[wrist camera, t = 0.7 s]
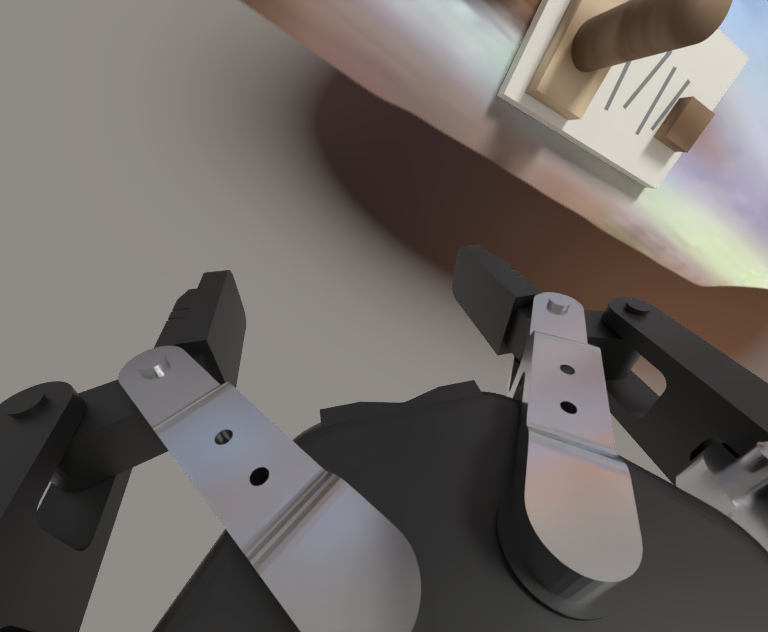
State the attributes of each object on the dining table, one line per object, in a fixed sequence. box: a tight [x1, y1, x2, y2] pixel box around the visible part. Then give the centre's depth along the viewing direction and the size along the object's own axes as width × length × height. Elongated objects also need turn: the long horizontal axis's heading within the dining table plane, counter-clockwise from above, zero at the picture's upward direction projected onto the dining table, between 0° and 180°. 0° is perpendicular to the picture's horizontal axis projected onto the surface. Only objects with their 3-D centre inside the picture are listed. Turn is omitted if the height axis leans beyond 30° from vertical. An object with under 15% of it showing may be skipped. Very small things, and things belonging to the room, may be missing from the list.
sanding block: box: [525, 0, 732, 120], centre depth 26 cm, size 10×6×12 cm, turn 158°
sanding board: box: [497, 0, 749, 189], centre depth 34 cm, size 14×24×2 cm, turn 68°
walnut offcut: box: [654, 96, 715, 152], centre depth 36 cm, size 4×4×2 cm
